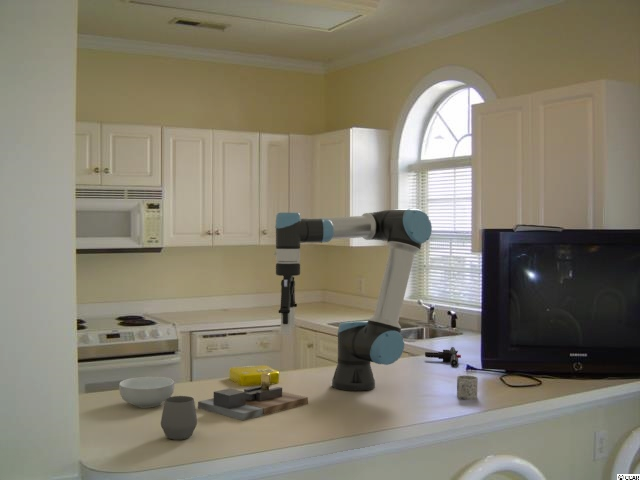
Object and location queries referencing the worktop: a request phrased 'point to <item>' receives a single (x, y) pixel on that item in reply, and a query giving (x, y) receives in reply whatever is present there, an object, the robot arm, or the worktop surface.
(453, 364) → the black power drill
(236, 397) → the bolt housing
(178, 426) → the cup
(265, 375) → the bolt
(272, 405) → the door and jamb
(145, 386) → the cereal bowl
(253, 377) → the element tile
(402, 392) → the worktop surface
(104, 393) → the worktop surface
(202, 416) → the worktop surface
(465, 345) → the worktop surface
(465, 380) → the mug
